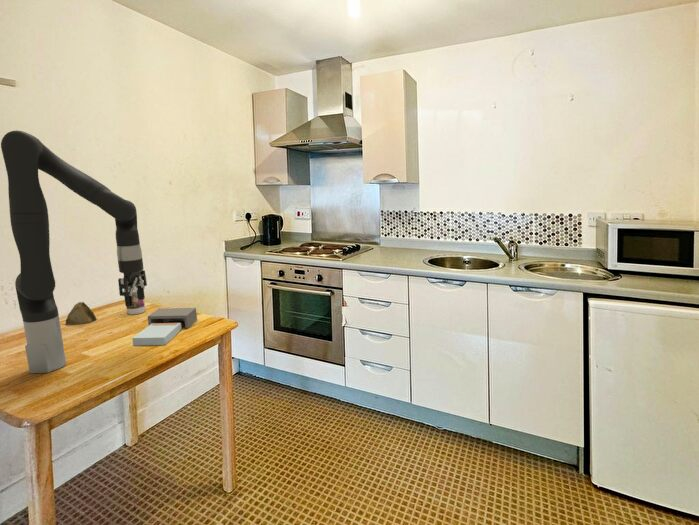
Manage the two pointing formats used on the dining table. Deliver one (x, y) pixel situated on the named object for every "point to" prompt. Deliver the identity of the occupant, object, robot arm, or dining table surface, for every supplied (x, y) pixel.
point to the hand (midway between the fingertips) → (135, 302)
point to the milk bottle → (136, 304)
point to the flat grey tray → (157, 334)
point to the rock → (80, 314)
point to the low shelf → (173, 315)
